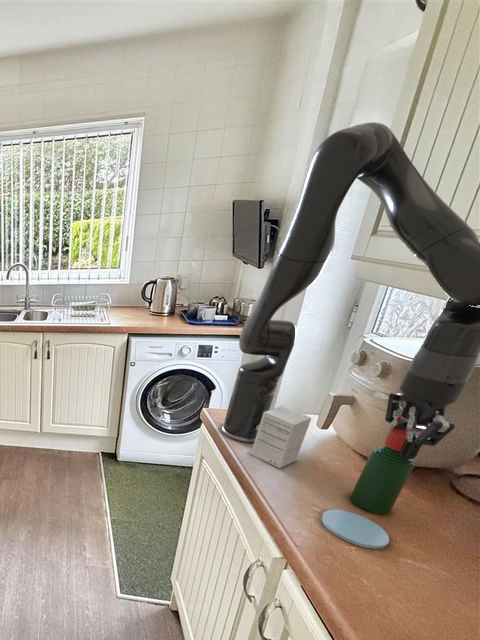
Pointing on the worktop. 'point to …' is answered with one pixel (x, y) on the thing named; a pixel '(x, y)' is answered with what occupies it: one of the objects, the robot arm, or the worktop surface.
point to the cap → (396, 439)
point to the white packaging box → (280, 436)
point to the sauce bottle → (381, 480)
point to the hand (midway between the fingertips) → (398, 451)
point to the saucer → (355, 529)
